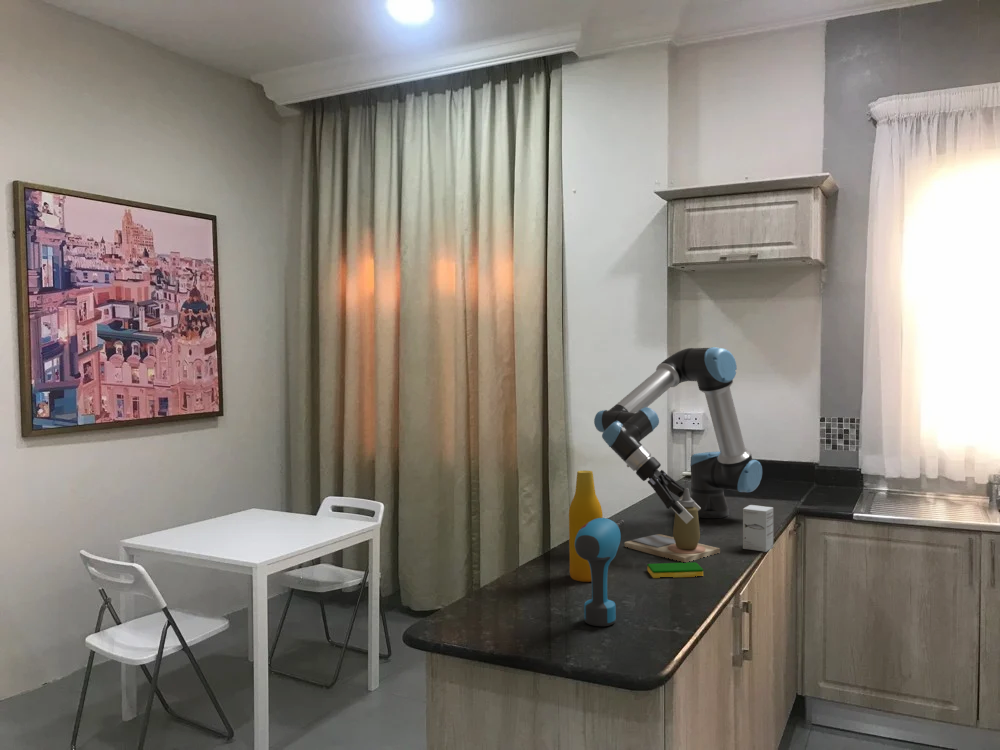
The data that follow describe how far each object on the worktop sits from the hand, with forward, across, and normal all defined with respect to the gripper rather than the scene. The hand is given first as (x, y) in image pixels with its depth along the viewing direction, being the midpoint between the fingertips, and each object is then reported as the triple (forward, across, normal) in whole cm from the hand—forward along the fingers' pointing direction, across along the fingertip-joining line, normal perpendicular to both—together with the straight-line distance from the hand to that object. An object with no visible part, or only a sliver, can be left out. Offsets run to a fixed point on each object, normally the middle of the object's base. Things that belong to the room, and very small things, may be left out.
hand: (694, 516), depth 228 cm
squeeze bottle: (+5, 0, -9) cm, 10 cm away
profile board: (+3, -3, -14) cm, 14 cm away
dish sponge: (+7, +21, -10) cm, 24 cm away
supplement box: (+20, -14, +4) cm, 25 cm away
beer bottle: (-8, +33, -25) cm, 42 cm away
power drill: (+1, +60, -16) cm, 62 cm away
